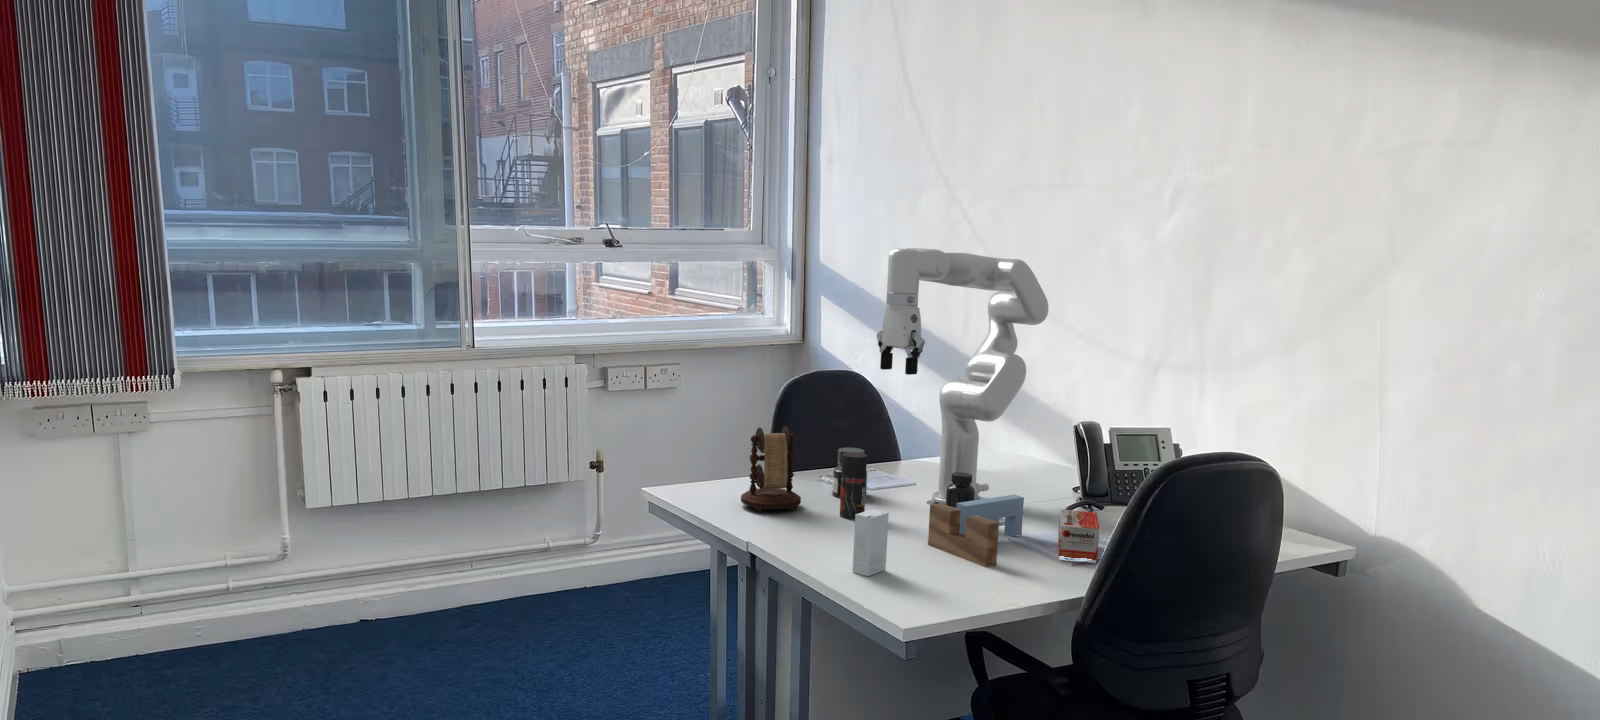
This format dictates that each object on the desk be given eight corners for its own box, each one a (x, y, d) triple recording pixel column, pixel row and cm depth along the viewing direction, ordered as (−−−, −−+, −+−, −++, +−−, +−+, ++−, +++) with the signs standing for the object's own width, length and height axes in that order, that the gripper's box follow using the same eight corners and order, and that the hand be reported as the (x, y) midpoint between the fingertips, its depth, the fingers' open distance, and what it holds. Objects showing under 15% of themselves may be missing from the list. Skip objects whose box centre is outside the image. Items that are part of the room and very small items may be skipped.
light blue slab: (1012, 532, 244) (1014, 494, 243) (1021, 535, 242) (1023, 497, 241) (954, 542, 234) (956, 503, 233) (963, 546, 232) (966, 506, 231)
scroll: (751, 516, 250) (754, 433, 247) (732, 501, 263) (735, 422, 261) (809, 512, 255) (812, 431, 253) (787, 498, 269) (790, 421, 266)
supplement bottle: (955, 528, 246) (958, 478, 244) (938, 521, 252) (941, 472, 250) (979, 525, 249) (982, 476, 247) (961, 518, 255) (964, 470, 253)
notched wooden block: (938, 542, 233) (940, 503, 232) (996, 565, 219) (998, 522, 218) (927, 544, 232) (930, 504, 231) (985, 567, 217) (988, 524, 216)
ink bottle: (841, 489, 280) (843, 445, 279) (871, 494, 277) (873, 449, 275) (826, 496, 272) (827, 451, 270) (857, 501, 268) (859, 455, 266)
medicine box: (1057, 542, 238) (1059, 507, 237) (1094, 546, 236) (1096, 511, 235) (1058, 561, 223) (1060, 525, 222) (1097, 565, 222) (1100, 528, 221)
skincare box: (869, 565, 215) (871, 507, 213) (887, 571, 212) (889, 512, 211) (850, 572, 210) (853, 513, 209) (868, 577, 207) (871, 517, 206)
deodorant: (862, 520, 250) (865, 458, 248) (837, 518, 251) (840, 456, 249) (865, 514, 256) (868, 453, 254) (841, 511, 257) (844, 451, 255)
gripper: (937, 303, 246) (933, 375, 248) (892, 298, 261) (888, 367, 262) (912, 303, 242) (908, 376, 244) (868, 298, 256) (864, 367, 258)
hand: (898, 371), depth 253 cm, fingers open, 9 cm apart
